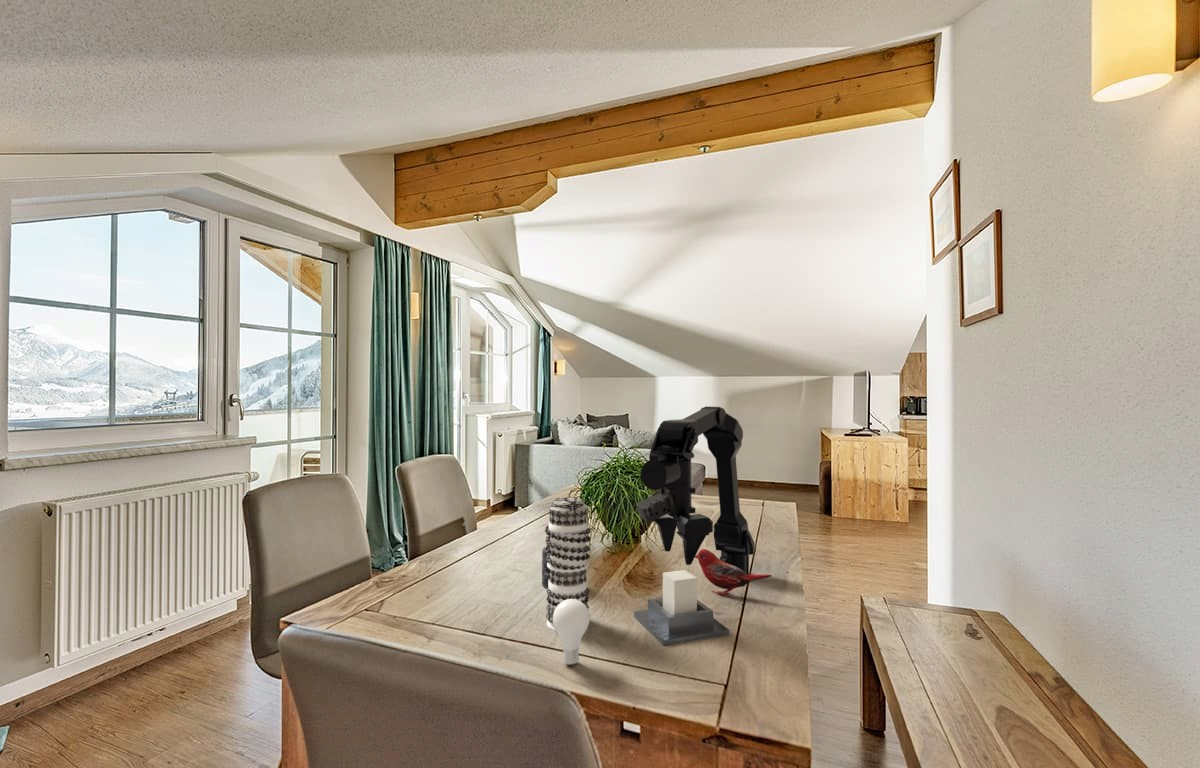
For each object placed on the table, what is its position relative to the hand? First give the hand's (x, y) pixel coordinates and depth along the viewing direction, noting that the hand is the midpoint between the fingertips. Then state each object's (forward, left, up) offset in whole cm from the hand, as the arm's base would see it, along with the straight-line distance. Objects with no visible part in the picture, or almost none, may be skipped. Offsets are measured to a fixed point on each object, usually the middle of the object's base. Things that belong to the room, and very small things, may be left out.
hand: (677, 557), depth 115 cm
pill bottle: (+19, -27, -13) cm, 35 cm away
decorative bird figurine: (-17, -7, -13) cm, 23 cm away
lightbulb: (+26, +11, -13) cm, 31 cm away
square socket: (+1, +3, -13) cm, 13 cm away
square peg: (+1, +3, -12) cm, 12 cm away
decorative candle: (+22, -5, -13) cm, 26 cm away
